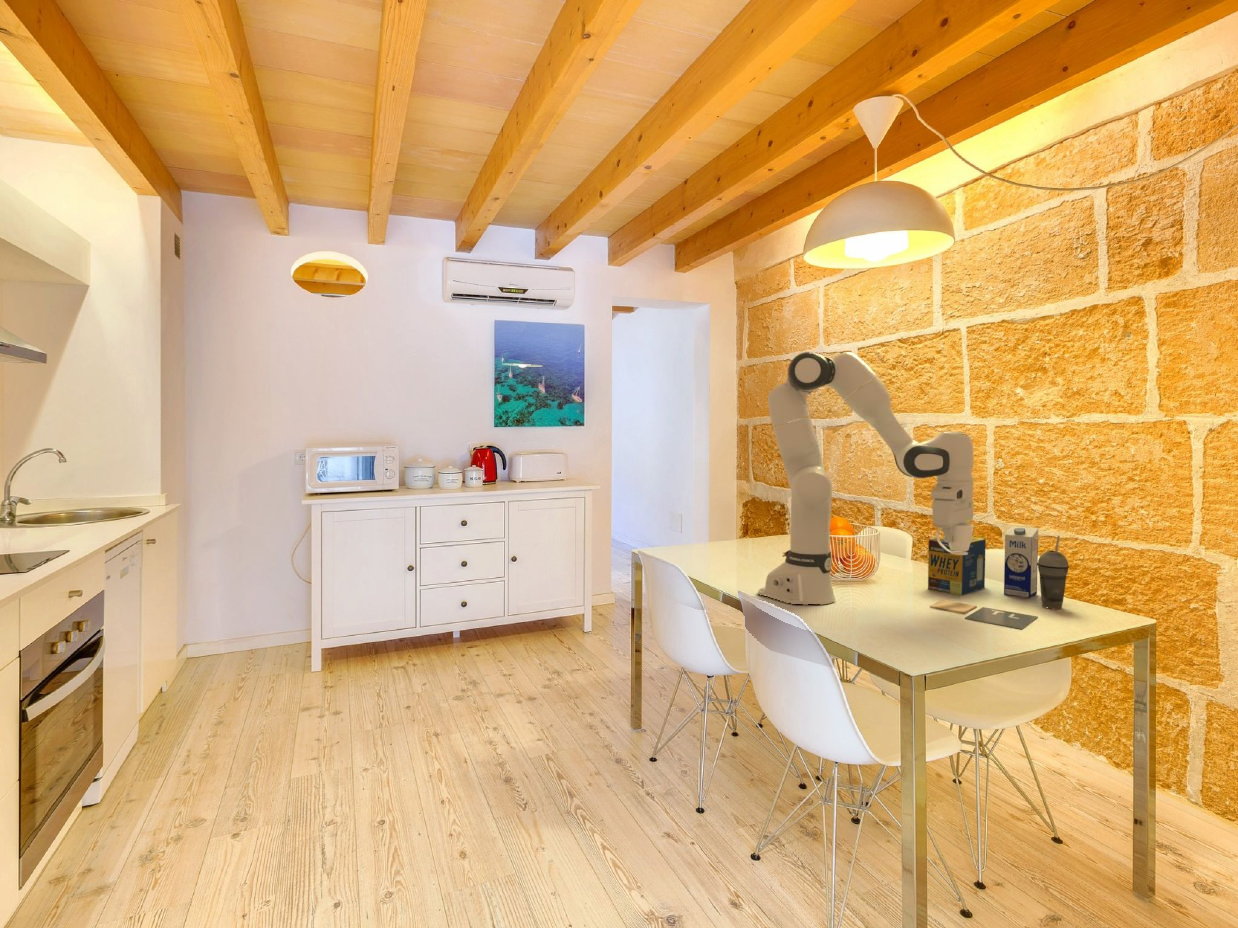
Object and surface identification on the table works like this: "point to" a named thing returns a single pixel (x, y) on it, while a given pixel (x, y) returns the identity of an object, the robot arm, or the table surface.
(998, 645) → the table surface
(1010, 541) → the milk carton
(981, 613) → the tile
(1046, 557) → the beverage cup
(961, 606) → the cork pad
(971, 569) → the protein box
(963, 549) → the cup
